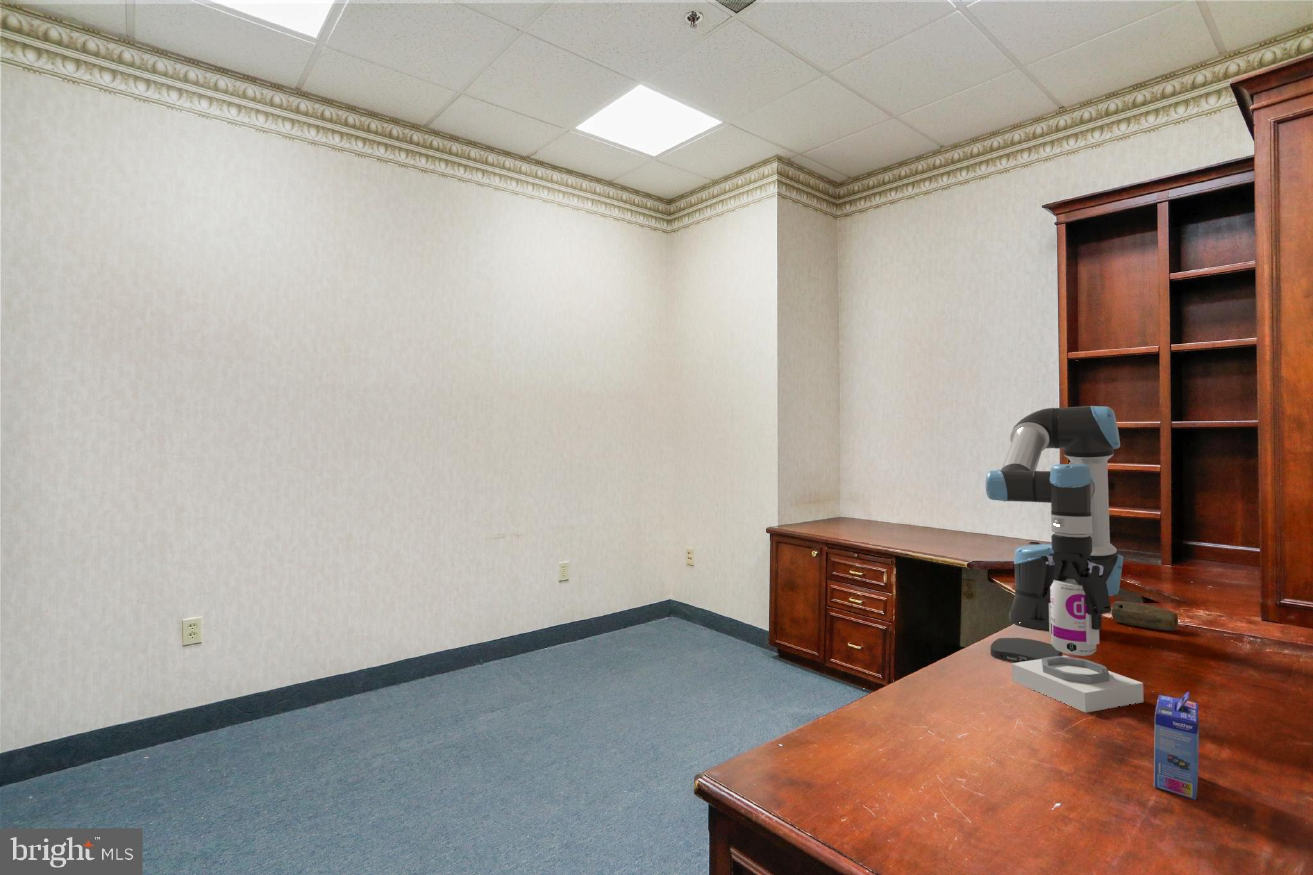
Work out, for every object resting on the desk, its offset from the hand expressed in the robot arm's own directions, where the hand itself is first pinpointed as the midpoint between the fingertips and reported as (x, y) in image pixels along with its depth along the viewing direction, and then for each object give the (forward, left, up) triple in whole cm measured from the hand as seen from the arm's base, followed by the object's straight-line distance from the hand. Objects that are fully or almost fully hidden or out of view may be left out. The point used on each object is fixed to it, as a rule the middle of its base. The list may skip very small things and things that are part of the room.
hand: (1073, 637), depth 138 cm
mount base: (0, 0, -12) cm, 12 cm away
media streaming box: (-21, +9, -12) cm, 26 cm away
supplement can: (0, 0, -3) cm, 3 cm away
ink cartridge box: (+33, -18, -12) cm, 39 cm away
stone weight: (-29, +61, -12) cm, 69 cm away
